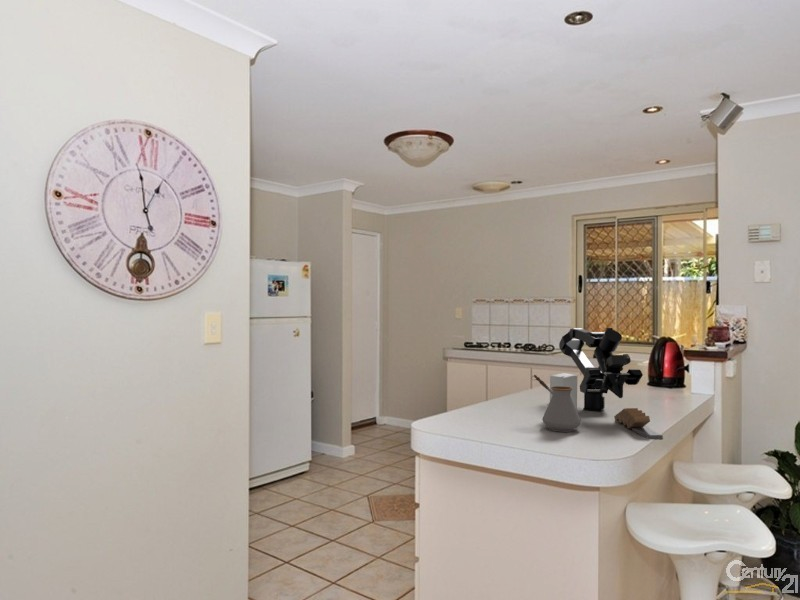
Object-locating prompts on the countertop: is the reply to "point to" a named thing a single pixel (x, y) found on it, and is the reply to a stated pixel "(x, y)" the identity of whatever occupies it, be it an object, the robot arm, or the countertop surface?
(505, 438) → the countertop surface
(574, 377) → the skincare box
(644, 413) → the domino
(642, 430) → the domino
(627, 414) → the domino
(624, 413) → the domino
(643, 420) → the domino
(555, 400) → the coffee pot
